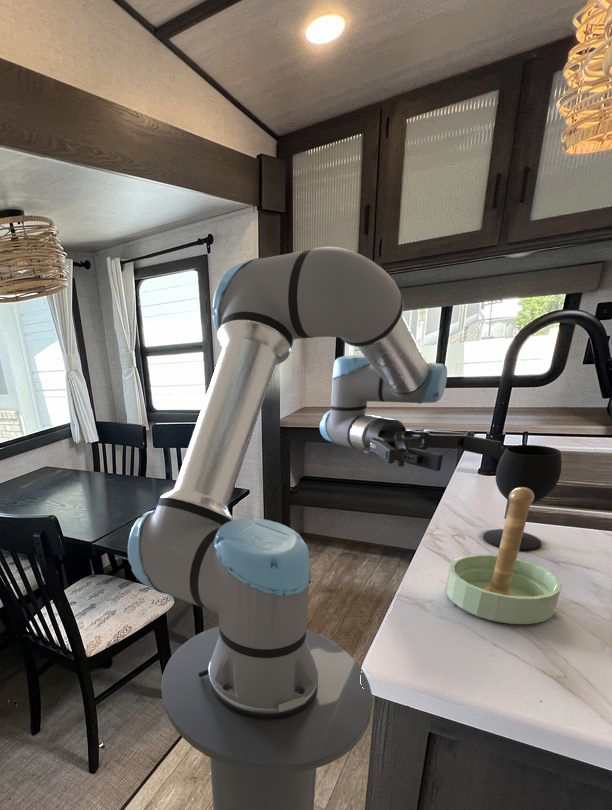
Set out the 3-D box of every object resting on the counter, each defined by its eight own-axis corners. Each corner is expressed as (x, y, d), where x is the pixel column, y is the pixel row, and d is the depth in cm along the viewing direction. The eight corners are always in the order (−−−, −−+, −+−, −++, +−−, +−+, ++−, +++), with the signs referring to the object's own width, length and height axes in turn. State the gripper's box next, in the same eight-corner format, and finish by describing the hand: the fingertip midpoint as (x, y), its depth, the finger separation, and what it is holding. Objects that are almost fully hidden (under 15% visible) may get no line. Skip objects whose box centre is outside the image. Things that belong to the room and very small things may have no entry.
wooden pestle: (489, 604, 79) (515, 492, 71) (477, 591, 83) (500, 483, 75) (518, 605, 79) (547, 491, 70) (504, 591, 83) (531, 482, 74)
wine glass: (475, 542, 102) (494, 452, 94) (490, 527, 108) (509, 441, 100) (534, 555, 95) (559, 459, 86) (546, 538, 101) (571, 447, 93)
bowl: (467, 627, 76) (473, 598, 73) (432, 580, 90) (436, 554, 87) (574, 629, 73) (584, 599, 71) (521, 580, 87) (528, 553, 85)
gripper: (421, 443, 103) (517, 464, 85) (328, 462, 96) (410, 490, 78) (426, 409, 100) (527, 423, 82) (330, 426, 93) (416, 446, 75)
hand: (470, 456), depth 80 cm, fingers open, 13 cm apart
